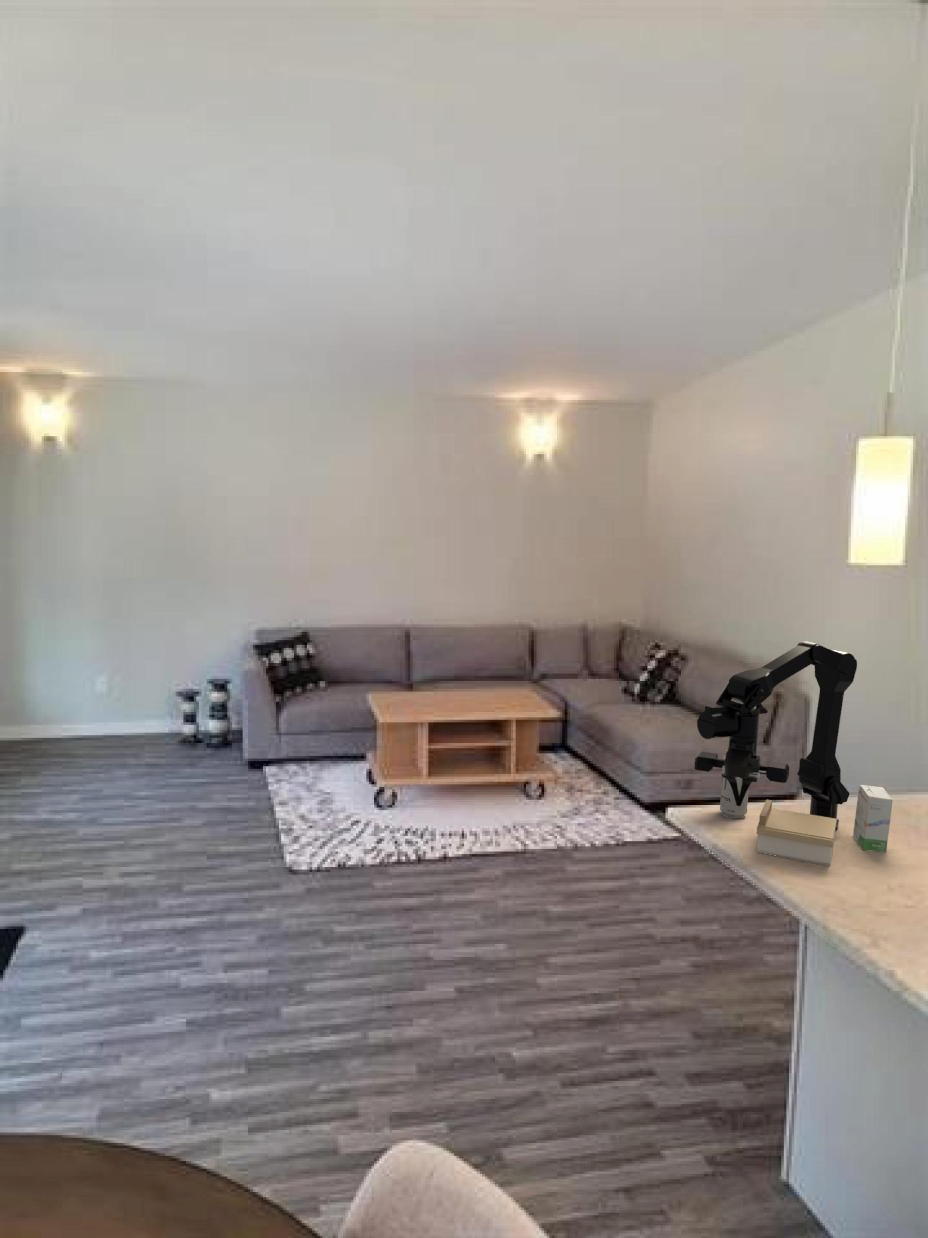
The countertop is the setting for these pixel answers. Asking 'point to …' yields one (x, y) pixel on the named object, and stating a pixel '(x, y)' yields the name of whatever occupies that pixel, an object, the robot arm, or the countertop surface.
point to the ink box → (872, 818)
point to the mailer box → (795, 850)
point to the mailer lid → (796, 826)
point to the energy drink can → (731, 800)
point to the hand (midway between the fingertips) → (738, 805)
